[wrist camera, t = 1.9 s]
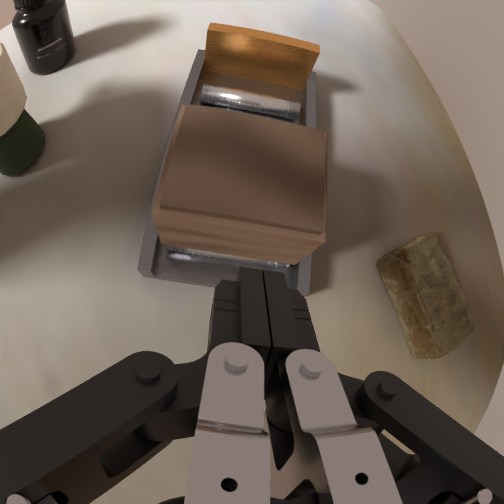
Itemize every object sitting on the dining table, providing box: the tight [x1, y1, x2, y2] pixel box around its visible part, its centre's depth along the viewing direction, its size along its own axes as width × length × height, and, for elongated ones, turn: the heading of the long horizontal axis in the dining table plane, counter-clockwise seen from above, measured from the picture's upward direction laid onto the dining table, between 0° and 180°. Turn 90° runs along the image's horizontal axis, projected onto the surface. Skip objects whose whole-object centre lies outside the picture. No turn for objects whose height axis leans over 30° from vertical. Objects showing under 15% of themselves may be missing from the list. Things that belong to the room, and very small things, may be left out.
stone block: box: [376, 232, 474, 359], centre depth 27 cm, size 6×12×5 cm, turn 24°
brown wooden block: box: [152, 104, 327, 265], centre depth 22 cm, size 8×10×7 cm
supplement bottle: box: [12, 0, 76, 75], centre depth 24 cm, size 7×7×12 cm
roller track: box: [138, 23, 320, 297], centre depth 26 cm, size 24×13×7 cm, turn 173°
